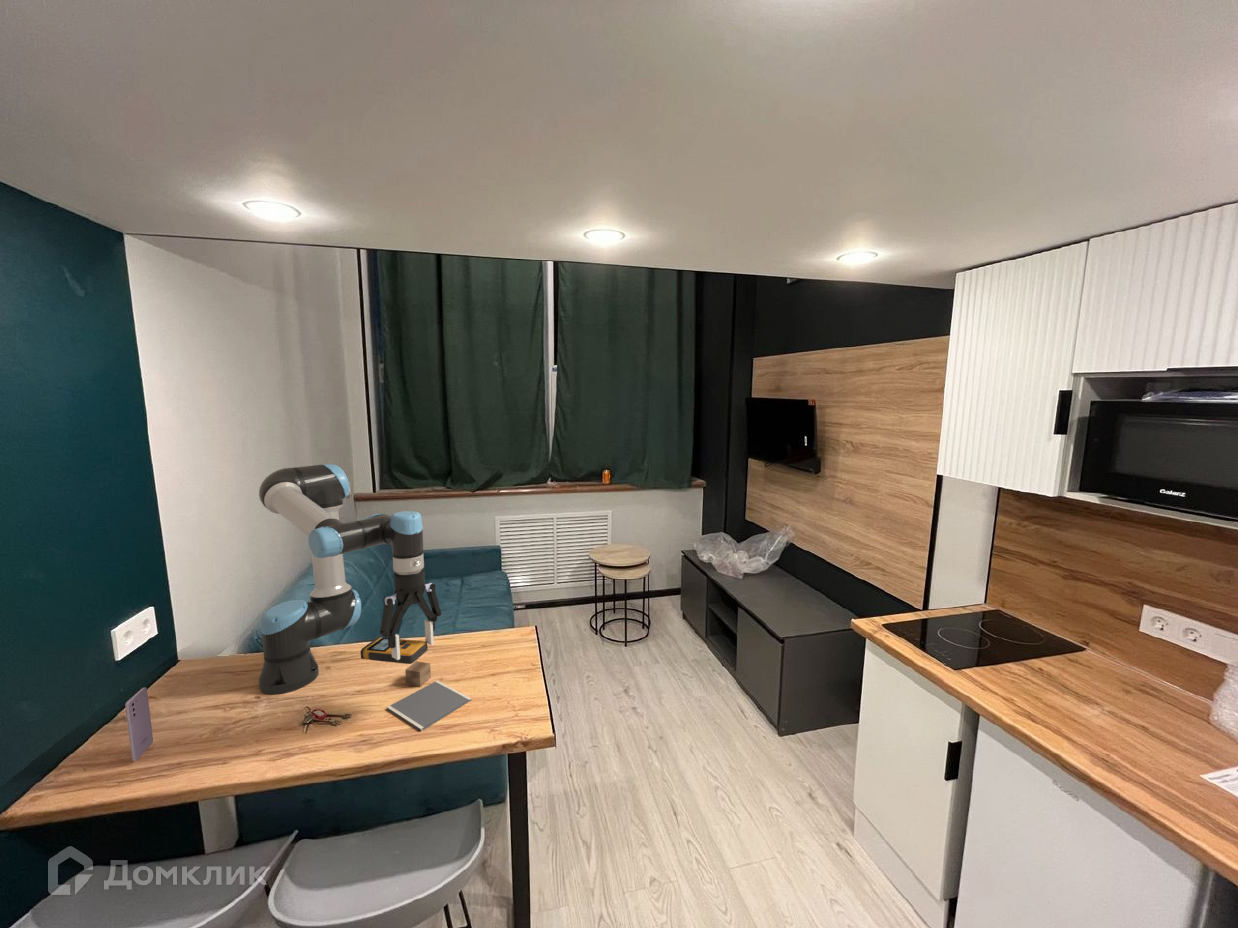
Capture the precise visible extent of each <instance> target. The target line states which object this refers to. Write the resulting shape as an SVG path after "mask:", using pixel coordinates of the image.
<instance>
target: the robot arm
mask: <svg viewBox="0 0 1238 928" xmlns="http://www.w3.org/2000/svg"><path fill="white" fill-rule="evenodd" d="M349 495H350V483H349V479H348V477H347V475H346V473H345V471H344V470H343V469H342V468H341V467H340V466H338V465H337V464H330V463H329V464H327V463H326V464H324V463H323V464H321V463H320V464H315V465H304V466H296V467H285V468H281V469H278V470H275V471H274V472H271V473H270V474H269V475H268V476H266V477H265V478H264V479H263V481H262V482H261V484H260V486H259V490H258V496H259V500H260V502H261V504H262V505H263V507H264V508H265V509H267V510H268V511H269V512H272V513H273V514H274V513H275V514H276V515H277V514H278V515H281V516H282V517H284V518H285V519H286V521H288V522H289V523H290V524H292V525H293V526H294V527H296V528H297V529H299V530H300V531H301V532H302V533H304V534H305V535H306V536H307V537H308V547H309V550H310V553H311V561H312V562H311V564H312V572H313V573H312V574H313V581H314V588H313V590H312V591H311V592H310V593H309V597H310V598H309V599H310V600H309V601H308V602H306V600H304V599H293V600H288V601H287V600H286V601H283V602H280V603H278V604H276V605H274V606H272V607H270V608H269V609H267V610H266V611H265V612H264V613H263V615H262V616H261V619H260V621H261V622H260V633H261V639H262V640H261V641H262V651H263V652H262V653H263V659H264V660H263V661H264V662H263V665H262V669H261V672H260V675H259V679H258V688H259V691H260V692H262V693H263V694H266V695H267V694H268V695H278V694H279V695H280V694H285V693H290V692H293V691H296V690H299V689H301V688H304V687H306V686H308V685H309V684H311V683H312V682H313V681H315V680H316V679H317V678H318V676H319V672H320V669H319V664H318V663H317V662H318V661H316V659H315V657H314V655H313V653H312V650H311V642H312V641H314V640H316V639H319V638H322V637H325V636H328V635H329V634H333V633H336V632H338V631H342V630H345V629H346V628H349V627H351V626H353V625H355V624H356V623H357V621H358V620H359V619H360V617H361V612H362V601H361V598H360V594H359V592H358V591H357V590H355V589H353V588H352V585H351V584H349V583H347V581H346V574H345V573H346V572H345V563H344V554H347V553H351V552H355V551H358V550H364V549H367V548H371V547H377V546H380V545H388V546H391V548H392V550H391V553H392V569H393V572H394V573H393V584H394V593H393V594H392V595H390V596H384V597H383V599H382V603H383V609H382V617H381V622H380V628H379V635H381V636H382V637H383V638H388V646H389V647H390V648H391V650H392V657H393V658H395V659H396V660H399V659H400V646H399V639H400V635H399V634H398V633H397V632H398V629H399V627H400V624H401V622H402V619H403V617H404V614H405V612H406V611H407V609H408V607H410V606H412V605H413V604H414V605H415V604H417V605H418V607H419V608H420V609H421V611H422V613H423V614H424V615H425V617H426V618H427V619H424V637H425V642H427V645H431V646H433V645H434V644H435V640H434V631H435V630H436V622H437V621H438V617H441V615H442V611H441V610H442V609H441V608H440V607H441V606H440V604H439V600H438V597H437V594H436V584H435V583H432V582H427V583H426V584H425V581H426V579H425V578H426V576H425V569H424V568H425V561H424V560H425V559H424V534H423V533H424V532H423V531H424V530H423V529H424V526H423V523H422V522H423V521H422V515H421V513H420V512H418V511H415V510H412V511H410V510H405V511H397V512H395V513H393V514H391V515H390V514H387V513H373V514H372V515H370V516H368V517H367V518H365V519H359V520H354V521H350V522H349V521H348V522H342V521H340V516H339V513H340V512H339V511H340V509H342V507H343V506H344V503H343V502H344V501H343V500H345V499H346V498H347V497H348V496H349ZM425 592H426V596H427V599H428V603H429V604H428V603H427V601H426V599H425V597H424V593H425ZM395 601H396V602H395ZM429 605H430V606H429ZM394 606H395V609H394Z"/></svg>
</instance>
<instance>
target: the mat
mask: <svg viewBox="0 0 1238 928" xmlns="http://www.w3.org/2000/svg"><path fill="white" fill-rule="evenodd" d="M471 701H472V698H471V697H470V696H468V695H466V694H464V693H461V692H460V691H458V690H456V689H454V688H453V687H451V686H449V685H448V684H445V683H443V682H441V681H440V680H435V681H433V682H432V683H430V684H428V685H426V686H424V687H422V688H420V689H418V690H417V691H414V692H413V693H411V694H409V695H407V696H405V697H404V698H401V699H399V700H398V701H396V702H394V703H392V704H390V705H387V706H386V710H387V711H389V712H391V714H393V715H395V716H397V717H398V718H399V719H401V720H403V721H404V722H406V723H407V724H409V725H411V726H412V727H413V728H415V729H417V730H418V731H419V732H423V731H425V730H426V729H428V728H429V727H431V726H432V725H434V724H436V723H437V722H439V721H440V720H442V719H444V718H446V717H447V716H449V715H451V714H452V713H453V712H455V711H457V710H458V709H460V708H462V707H463V706H465V705H466V704H468V703H470V702H471Z"/></svg>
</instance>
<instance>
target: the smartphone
mask: <svg viewBox="0 0 1238 928" xmlns="http://www.w3.org/2000/svg"><path fill="white" fill-rule="evenodd" d="M124 706H125V707H124V708H125V714H126V715H125V716H126V722H127V729H128V731H127V732H128V739H129V747H130V753H131V760H132V761H133V762H136V761H138V760H139V759H140V758H141V757H142V755H143V754H144V753H145V752H146V751H147V750H148V749H149V748H150V747H151V746H152V744H153V743H154V736H153V728H152V720H151V712H150V703H149V696H148V688H147V687H142V688H140V689H139V691H137V692H136V693H135V694H134V695H133V696H132V697H130V698H129V699H128V700H127V701H126V702H125V704H124Z"/></svg>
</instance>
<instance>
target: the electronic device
mask: <svg viewBox="0 0 1238 928" xmlns="http://www.w3.org/2000/svg"><path fill="white" fill-rule="evenodd" d="M399 646H400V659H399V660H396V659H395V658H393V657H392V650H391V648H390V647H389V646H388V637H383V636H382V637H379V636H378V637H376V638H375V639H373V640H372V641H370V642H369V643H368V644H366V645H365V646H363V647H362V648H361V649H360V659H361V660H366V661H367V660H368V661H376V662H387V663H395V664H405V665H412V664H413V663H414V662H416V661H417V660H418V659H419V658H420V657H422V656H423V655H424V654H425V653H426V652H427V651H428V648H429V647H428V643H427V642H426V640H425V641H424V640H413V639H404V638H403V639H402V638H399Z"/></svg>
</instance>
